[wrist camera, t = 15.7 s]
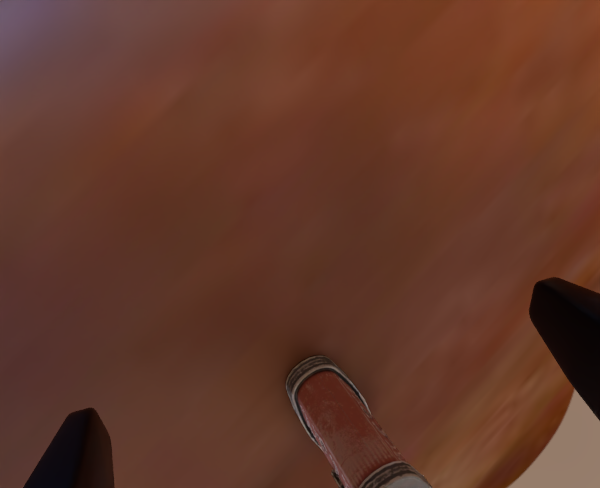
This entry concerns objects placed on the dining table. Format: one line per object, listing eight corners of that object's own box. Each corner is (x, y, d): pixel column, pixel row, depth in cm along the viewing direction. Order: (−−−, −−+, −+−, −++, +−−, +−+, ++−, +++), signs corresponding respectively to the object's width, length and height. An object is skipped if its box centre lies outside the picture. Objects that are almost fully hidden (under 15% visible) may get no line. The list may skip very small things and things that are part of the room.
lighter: (271, 382, 24) (384, 585, 16) (329, 342, 24) (468, 519, 16) (331, 462, 29) (443, 652, 21) (379, 427, 29) (507, 599, 21)
